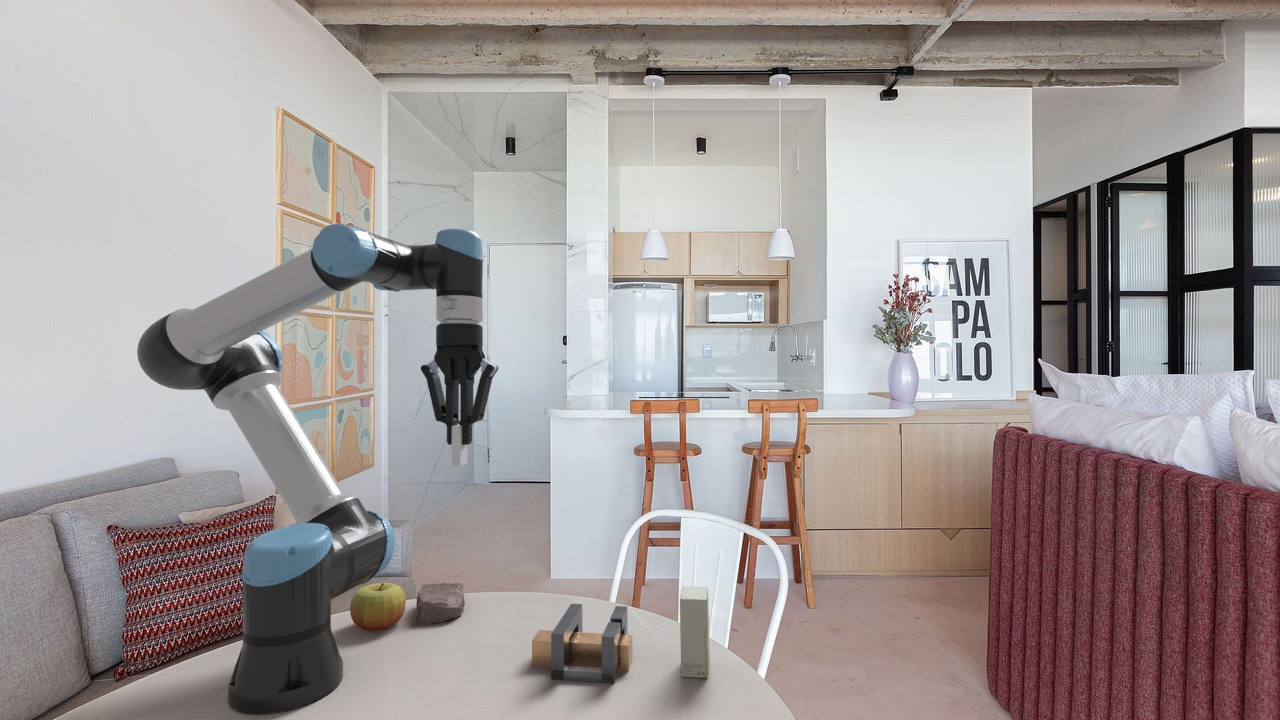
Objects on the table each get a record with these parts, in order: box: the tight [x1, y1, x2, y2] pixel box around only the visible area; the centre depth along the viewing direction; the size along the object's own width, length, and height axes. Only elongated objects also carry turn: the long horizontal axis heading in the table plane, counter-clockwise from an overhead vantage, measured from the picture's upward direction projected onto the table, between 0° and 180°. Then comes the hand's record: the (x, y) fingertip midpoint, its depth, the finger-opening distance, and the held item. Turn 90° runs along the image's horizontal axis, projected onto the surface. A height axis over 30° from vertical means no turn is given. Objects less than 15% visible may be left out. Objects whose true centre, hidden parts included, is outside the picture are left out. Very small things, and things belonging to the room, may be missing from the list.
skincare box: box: [679, 586, 711, 679], centre depth 99 cm, size 6×4×12 cm
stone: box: [415, 582, 466, 625], centre depth 123 cm, size 12×9×5 cm
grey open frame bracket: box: [550, 603, 628, 684], centre depth 101 cm, size 10×12×7 cm
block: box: [531, 629, 634, 672], centre depth 102 cm, size 16×4×4 cm, turn 82°
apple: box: [349, 582, 407, 632], centre depth 116 cm, size 10×10×8 cm
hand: (459, 464), depth 103 cm, fingers closed
